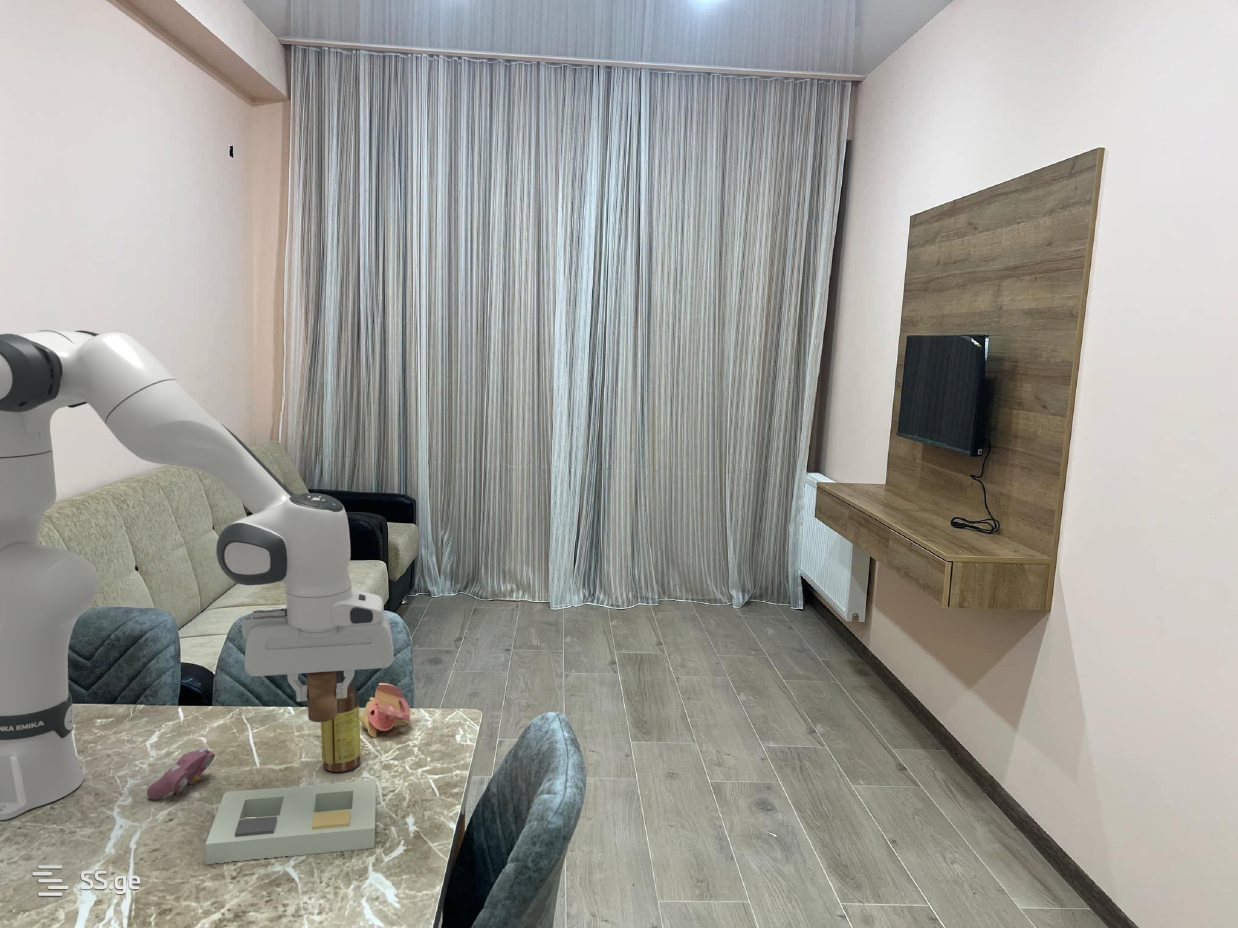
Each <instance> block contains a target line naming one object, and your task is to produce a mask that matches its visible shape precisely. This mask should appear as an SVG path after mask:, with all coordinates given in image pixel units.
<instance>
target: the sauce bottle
mask: <svg viewBox="0 0 1238 928" xmlns="http://www.w3.org/2000/svg"><path fill="white" fill-rule="evenodd" d="M344 679H345V677H344V671H336V684H337V683H343V681H344ZM359 701H360V700H359V696H358V693H357V691H356V689H355V686H354V683H353V679H352V680H351V682H350V684H349V685H348V687H347V698H340V699H337V716H336V717H335V718H334V719H332V720H330V721H326V722H320V736H321V741H320V743H321V759H322V761H323V763H322V765H323V768H324V769H325V770H326V771H329V772H333V773H344V772H348V771H351V770H355V768H357V767H358V766H359V765H360V762H361V752H362V751H361V750H362V749H361V747H362V746H361V745H362V744H361V729H360V727H361V721H360V702H359Z"/></svg>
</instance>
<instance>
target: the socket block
mask: <svg viewBox="0 0 1238 928" xmlns="http://www.w3.org/2000/svg"><path fill="white" fill-rule="evenodd" d="M376 806H377V780H376V779H372V780H359V781H348V782H347V781H346V782H345V781H344V782H337V783H336V782H335V783H334V782H333V783H322V784H311V785H309V784H308V785H296V786H286V787H274V788H273V787H272V788H261V789H248V790H246V789H245V790H236V791H225V792H224V794H223V795H222V798H221V800H220V803H219V806H218V809H217V812H216V815H215V818H214V820H213V823H212V826H211V828H210V831H209V834H208V836H207V839H206V842H205V844H204V847H205V865H206V864H207V865H208V864H209V865H216V864H215V863H219V864H227V862H229V863H233V862H232V861H239V860H240V861H239V862H245V861H244V860H249V861H251V860H250V859H259V860H265V859H264V858H268V859H275V858H274V857H278V858H286V857H285V856H288V857H297V856H306V855H316V854H326V853H327V854H329V853H335V852H347V851H356V850H366V849H375V844H376V843H375V841H376V839H375V838H376V816H377V815H376V813H377V812H376V810H377V807H376ZM245 817H256V818H245ZM296 855H297V856H296ZM281 856H282V857H281ZM224 862H225V863H224ZM207 865H206V866H207Z"/></svg>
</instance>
